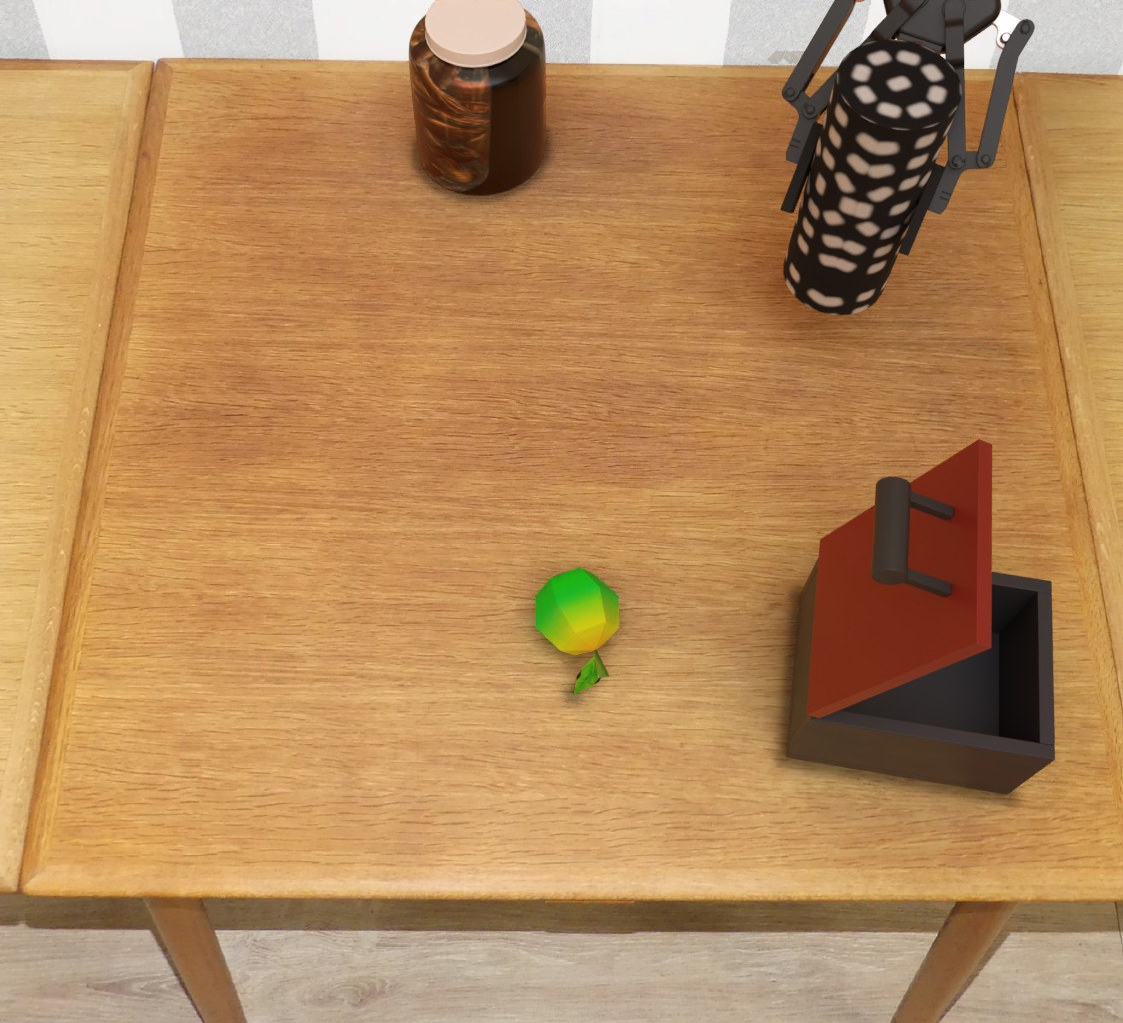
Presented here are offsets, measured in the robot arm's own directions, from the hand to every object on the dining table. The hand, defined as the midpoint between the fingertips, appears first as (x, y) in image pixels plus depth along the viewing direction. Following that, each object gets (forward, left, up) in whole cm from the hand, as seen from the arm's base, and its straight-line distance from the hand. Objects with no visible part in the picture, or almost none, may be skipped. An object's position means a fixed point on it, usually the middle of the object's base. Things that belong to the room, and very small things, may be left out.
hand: (844, 231), depth 90 cm
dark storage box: (-10, +28, -17) cm, 34 cm away
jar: (+31, -19, -17) cm, 40 cm away
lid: (-5, +28, +1) cm, 29 cm away
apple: (+14, +28, -17) cm, 36 cm away
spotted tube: (-1, -3, -9) cm, 9 cm away
